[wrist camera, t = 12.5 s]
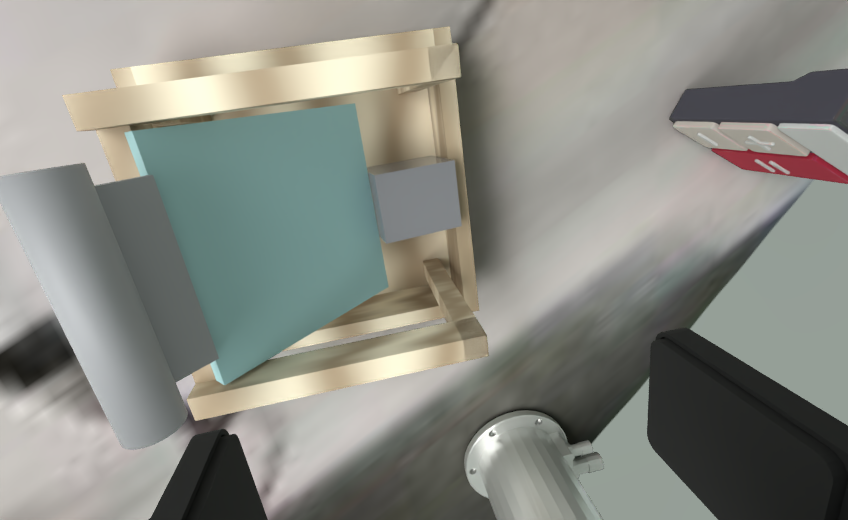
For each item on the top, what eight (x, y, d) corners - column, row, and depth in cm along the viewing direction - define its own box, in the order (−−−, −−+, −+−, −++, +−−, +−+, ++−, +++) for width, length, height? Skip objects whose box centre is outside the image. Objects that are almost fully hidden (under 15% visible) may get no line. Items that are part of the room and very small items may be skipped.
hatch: (345, 104, 30) (386, 97, 27) (379, 284, 34) (417, 292, 32) (-36, 152, 16) (-22, 146, 13) (111, 441, 21) (141, 476, 18)
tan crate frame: (433, 40, 34) (498, -16, 20) (461, 284, 42) (524, 377, 27) (151, 77, 32) (-20, 45, 17) (236, 329, 40) (168, 459, 25)
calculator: (662, 126, 40) (828, 132, 26) (687, 82, 39) (874, 64, 25) (740, 172, 43) (926, 200, 29) (765, 133, 42) (970, 142, 28)
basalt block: (360, 168, 33) (431, 155, 35) (371, 228, 35) (438, 213, 37) (374, 175, 29) (454, 160, 30) (386, 243, 31) (461, 226, 32)
